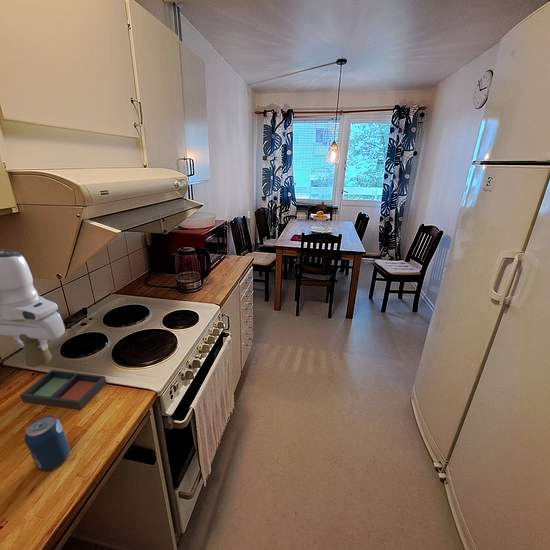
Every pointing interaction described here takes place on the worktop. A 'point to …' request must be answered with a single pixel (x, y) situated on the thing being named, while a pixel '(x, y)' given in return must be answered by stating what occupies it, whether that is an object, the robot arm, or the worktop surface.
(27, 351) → the olive green rounded piece
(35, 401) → the sorting tray
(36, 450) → the soda can
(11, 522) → the worktop surface
